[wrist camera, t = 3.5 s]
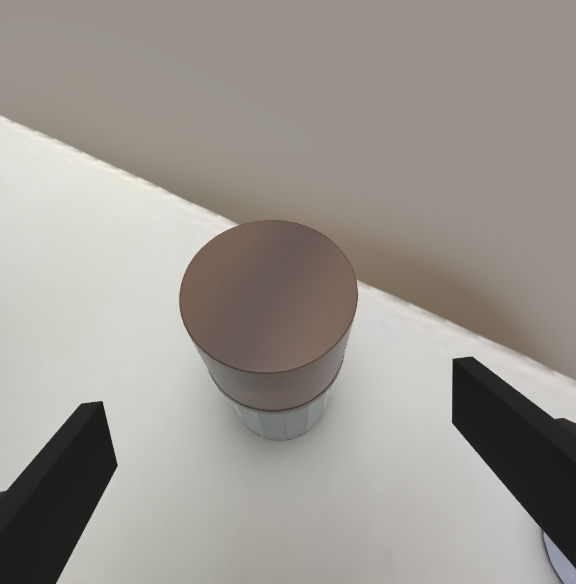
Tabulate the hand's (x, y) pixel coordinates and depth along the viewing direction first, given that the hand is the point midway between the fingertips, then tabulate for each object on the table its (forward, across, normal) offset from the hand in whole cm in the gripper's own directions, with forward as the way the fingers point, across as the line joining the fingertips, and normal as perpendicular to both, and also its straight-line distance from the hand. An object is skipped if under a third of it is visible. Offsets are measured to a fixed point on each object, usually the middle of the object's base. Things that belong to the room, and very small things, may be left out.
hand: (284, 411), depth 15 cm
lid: (+12, 0, -3) cm, 12 cm away
